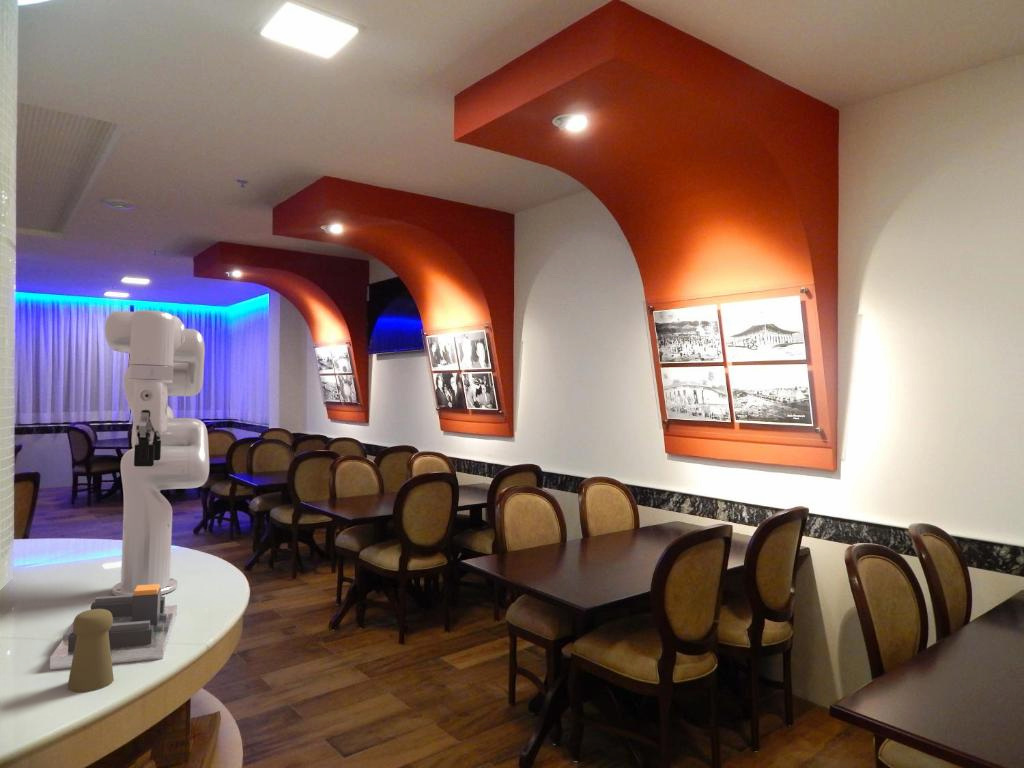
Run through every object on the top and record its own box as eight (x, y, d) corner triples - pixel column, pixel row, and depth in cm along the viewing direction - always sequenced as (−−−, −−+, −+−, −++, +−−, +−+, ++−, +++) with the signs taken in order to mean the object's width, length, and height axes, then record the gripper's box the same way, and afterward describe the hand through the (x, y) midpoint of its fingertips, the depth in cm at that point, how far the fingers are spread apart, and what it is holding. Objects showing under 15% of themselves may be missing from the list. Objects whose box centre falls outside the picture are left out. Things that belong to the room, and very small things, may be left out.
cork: (91, 694, 99) (94, 619, 99) (57, 689, 100) (59, 615, 100) (123, 677, 105) (125, 607, 105) (90, 672, 106) (92, 603, 106)
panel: (82, 622, 127) (83, 608, 127) (176, 615, 133) (177, 601, 133) (49, 669, 106) (50, 652, 106) (162, 658, 112) (163, 641, 112)
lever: (135, 622, 122) (136, 585, 122) (159, 620, 123) (161, 583, 123) (131, 630, 118) (132, 591, 118) (156, 627, 120) (158, 589, 120)
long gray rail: (93, 614, 126) (93, 596, 126) (164, 608, 130) (165, 591, 130) (67, 651, 109) (68, 630, 109) (151, 643, 113) (151, 623, 113)
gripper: (167, 375, 123) (163, 468, 123) (177, 375, 139) (174, 458, 139) (120, 373, 120) (117, 469, 120) (136, 374, 136) (133, 458, 136)
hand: (147, 463), depth 130 cm, fingers open, 9 cm apart
